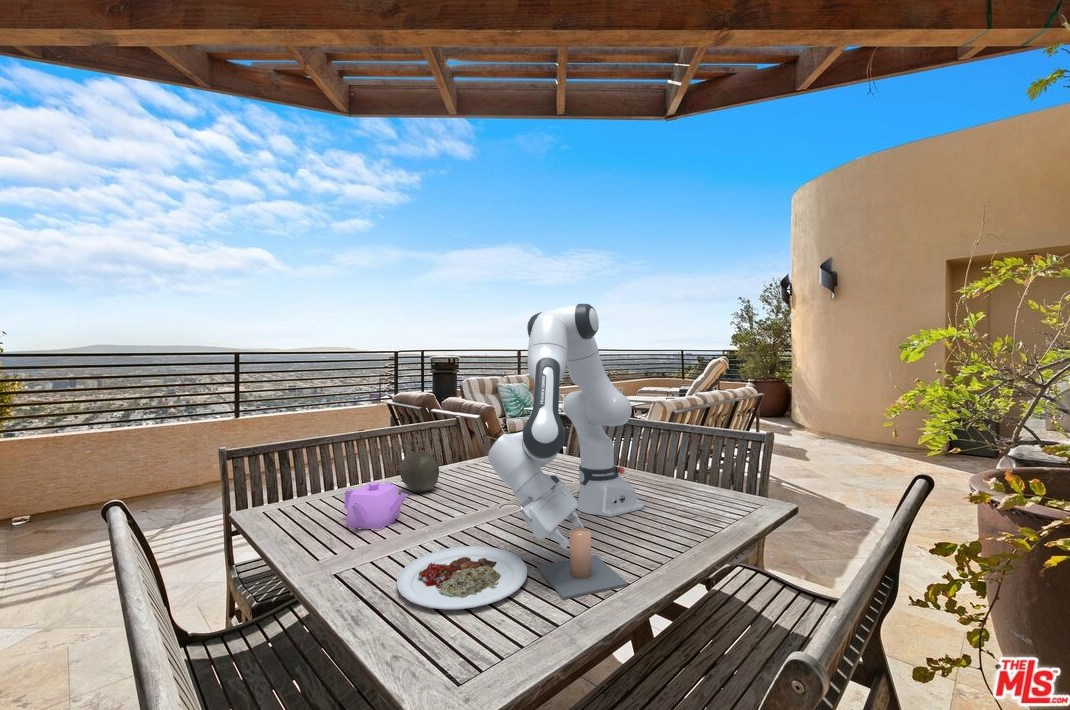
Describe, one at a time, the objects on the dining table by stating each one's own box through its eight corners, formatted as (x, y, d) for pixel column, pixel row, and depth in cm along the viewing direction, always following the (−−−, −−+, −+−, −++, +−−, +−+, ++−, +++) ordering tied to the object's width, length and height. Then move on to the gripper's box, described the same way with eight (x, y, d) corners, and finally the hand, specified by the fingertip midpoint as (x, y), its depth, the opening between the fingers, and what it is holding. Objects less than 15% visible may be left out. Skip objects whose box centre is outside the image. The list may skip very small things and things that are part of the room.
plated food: (543, 602, 103) (543, 586, 103) (397, 628, 94) (397, 610, 94) (510, 546, 131) (510, 534, 131) (396, 562, 123) (396, 549, 123)
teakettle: (392, 509, 163) (391, 472, 163) (410, 524, 149) (409, 484, 149) (339, 520, 153) (338, 481, 153) (353, 537, 139) (352, 494, 139)
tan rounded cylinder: (585, 567, 117) (585, 526, 116) (594, 576, 112) (594, 533, 112) (566, 570, 115) (566, 529, 115) (575, 580, 110) (575, 537, 110)
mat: (595, 557, 124) (595, 554, 124) (628, 585, 109) (628, 583, 109) (536, 567, 118) (536, 565, 118) (563, 599, 103) (563, 597, 103)
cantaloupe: (427, 484, 192) (426, 446, 192) (446, 491, 181) (445, 452, 181) (394, 491, 182) (393, 452, 182) (412, 500, 172) (411, 458, 172)
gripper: (526, 497, 107) (568, 547, 104) (559, 473, 126) (596, 515, 122) (508, 514, 109) (549, 564, 105) (544, 488, 128) (580, 530, 124)
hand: (574, 538), depth 114 cm, fingers open, 8 cm apart
